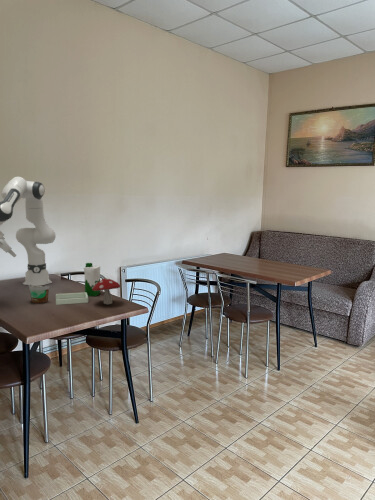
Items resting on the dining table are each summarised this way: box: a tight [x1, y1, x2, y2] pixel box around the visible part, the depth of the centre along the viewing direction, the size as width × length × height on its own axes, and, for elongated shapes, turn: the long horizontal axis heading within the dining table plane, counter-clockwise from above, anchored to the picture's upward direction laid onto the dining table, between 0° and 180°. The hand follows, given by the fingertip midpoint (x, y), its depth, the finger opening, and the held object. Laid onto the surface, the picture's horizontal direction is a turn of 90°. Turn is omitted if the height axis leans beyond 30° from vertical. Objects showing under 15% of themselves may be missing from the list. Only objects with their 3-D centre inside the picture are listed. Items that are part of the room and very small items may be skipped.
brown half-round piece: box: [28, 284, 51, 305], centre depth 222 cm, size 12×6×10 cm, turn 82°
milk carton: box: [83, 262, 101, 297], centre depth 241 cm, size 9×9×20 cm
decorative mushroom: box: [92, 277, 121, 305], centre depth 222 cm, size 16×16×15 cm
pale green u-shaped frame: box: [55, 291, 89, 306], centre depth 228 cm, size 13×18×3 cm
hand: (15, 255), depth 215 cm, fingers open, 8 cm apart
